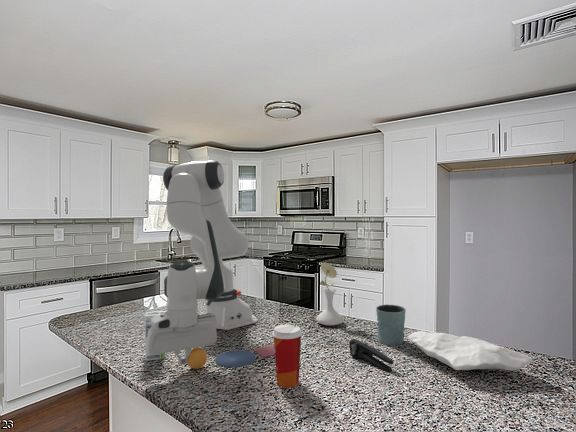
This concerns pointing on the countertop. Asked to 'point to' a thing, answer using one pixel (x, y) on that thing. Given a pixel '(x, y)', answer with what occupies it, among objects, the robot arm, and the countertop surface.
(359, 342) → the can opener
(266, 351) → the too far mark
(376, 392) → the countertop surface
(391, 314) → the teal cup
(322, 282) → the flower in vase
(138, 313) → the countertop surface
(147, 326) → the syrup box
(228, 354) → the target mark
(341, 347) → the countertop surface
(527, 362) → the crumpled cloth
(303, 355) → the countertop surface
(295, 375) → the coffee cup
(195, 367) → the ball
